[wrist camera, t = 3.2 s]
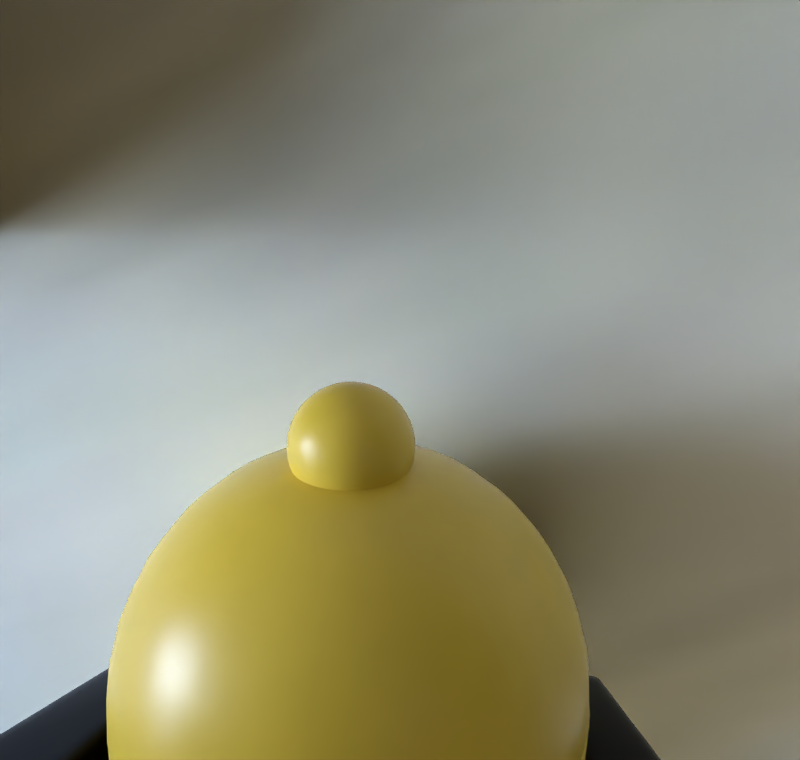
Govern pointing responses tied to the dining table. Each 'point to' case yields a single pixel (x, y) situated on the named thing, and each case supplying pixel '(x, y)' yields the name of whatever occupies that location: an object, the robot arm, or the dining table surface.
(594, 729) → the robot arm
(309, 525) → the lemon
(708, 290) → the dining table surface
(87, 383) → the dining table surface
